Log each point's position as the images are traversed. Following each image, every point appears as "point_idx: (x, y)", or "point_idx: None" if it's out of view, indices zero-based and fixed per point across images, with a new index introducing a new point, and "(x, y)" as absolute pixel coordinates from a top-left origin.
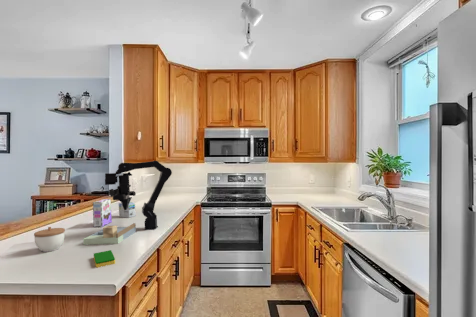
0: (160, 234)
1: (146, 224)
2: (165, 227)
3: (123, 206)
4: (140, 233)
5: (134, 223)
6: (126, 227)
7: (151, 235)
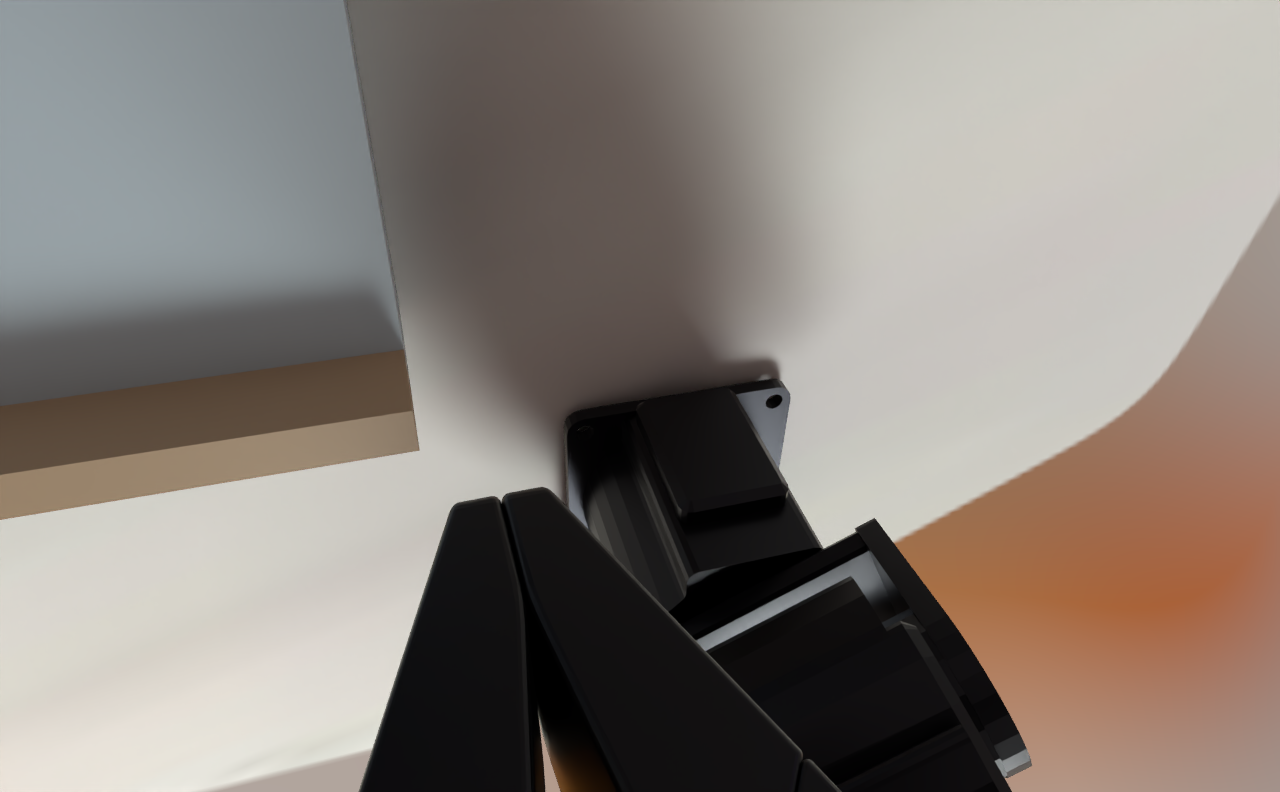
0: (231, 770)
1: (643, 495)
2: None
3: (393, 745)
4: None
5: (389, 440)
6: (292, 180)
7: (138, 703)
